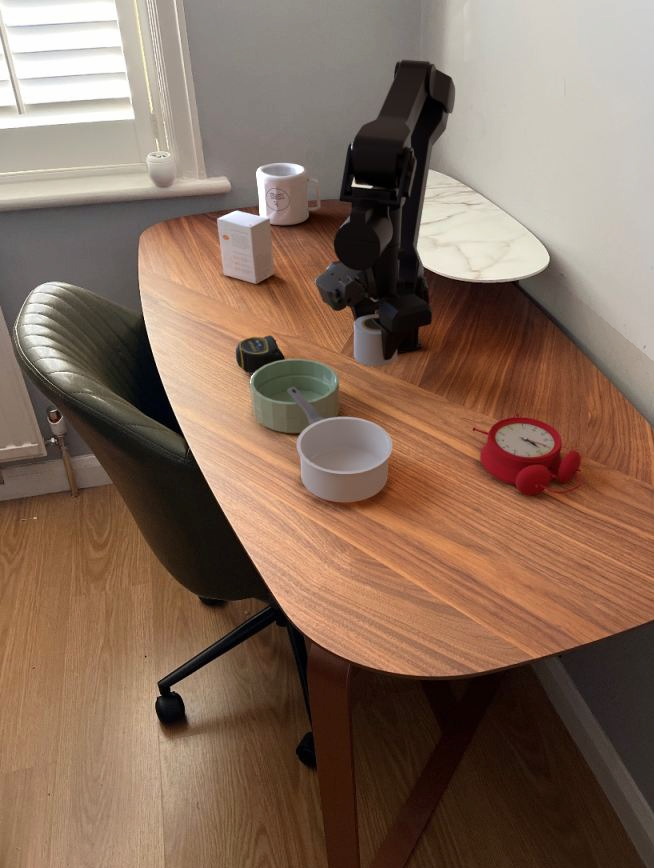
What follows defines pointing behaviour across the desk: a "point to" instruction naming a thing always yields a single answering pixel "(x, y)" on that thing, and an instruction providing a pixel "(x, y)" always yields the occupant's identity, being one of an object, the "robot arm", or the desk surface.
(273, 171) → the mug
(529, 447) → the alarm clock
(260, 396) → the bowl
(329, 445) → the saucepan
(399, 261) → the robot arm
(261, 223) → the small box
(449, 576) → the desk surface
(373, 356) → the tape roll
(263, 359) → the tape measure
